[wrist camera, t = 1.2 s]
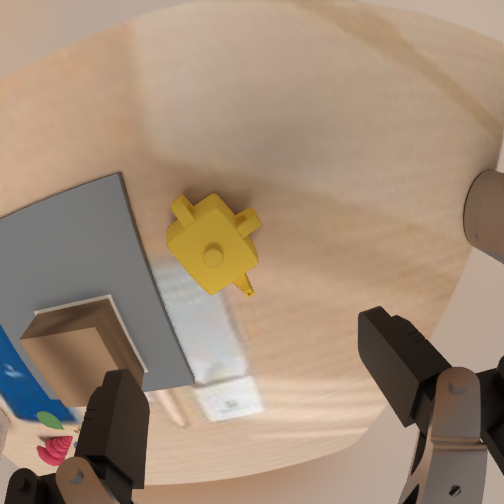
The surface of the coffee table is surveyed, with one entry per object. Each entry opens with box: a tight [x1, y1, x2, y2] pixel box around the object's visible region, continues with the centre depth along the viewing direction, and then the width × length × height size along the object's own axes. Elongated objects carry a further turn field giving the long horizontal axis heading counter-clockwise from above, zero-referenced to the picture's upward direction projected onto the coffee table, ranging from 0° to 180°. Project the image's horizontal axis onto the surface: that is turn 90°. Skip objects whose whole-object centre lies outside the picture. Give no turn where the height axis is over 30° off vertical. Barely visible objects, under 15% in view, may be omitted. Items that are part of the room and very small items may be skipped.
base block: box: [19, 298, 144, 407], centre depth 21 cm, size 8×8×4 cm
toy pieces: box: [37, 411, 81, 466], centre depth 28 cm, size 12×11×4 cm
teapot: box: [166, 193, 262, 297], centre depth 20 cm, size 8×6×5 cm
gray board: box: [0, 172, 195, 399], centre depth 22 cm, size 18×20×1 cm
